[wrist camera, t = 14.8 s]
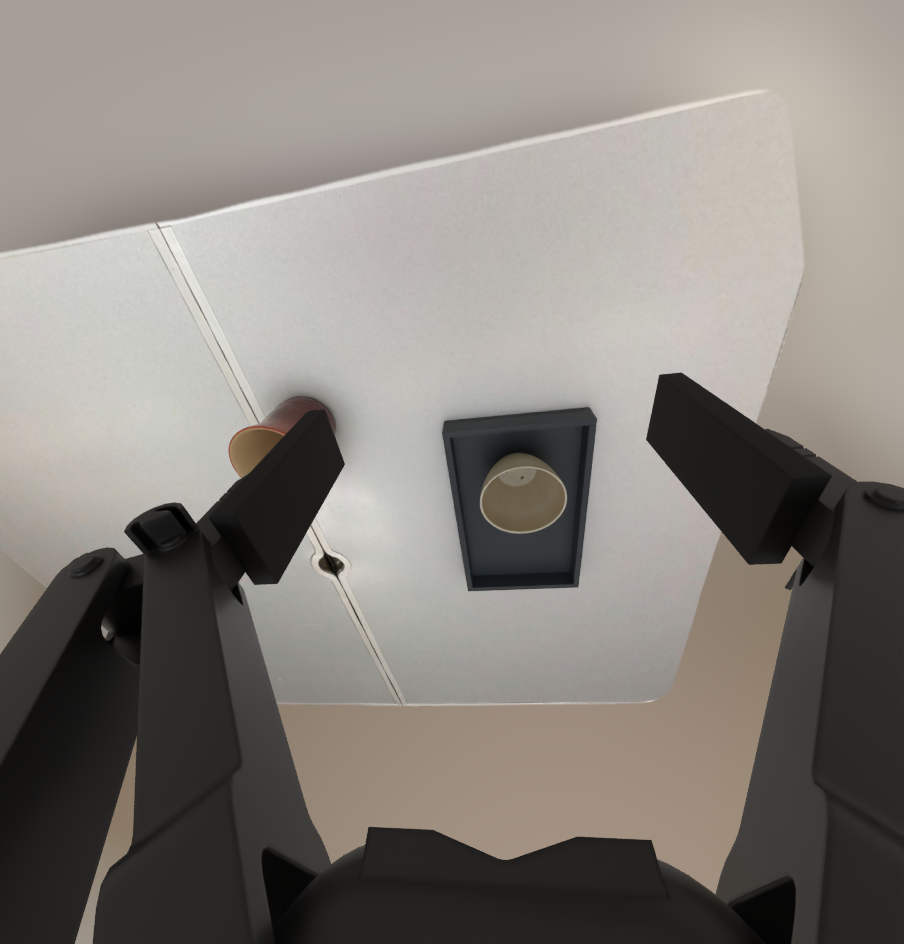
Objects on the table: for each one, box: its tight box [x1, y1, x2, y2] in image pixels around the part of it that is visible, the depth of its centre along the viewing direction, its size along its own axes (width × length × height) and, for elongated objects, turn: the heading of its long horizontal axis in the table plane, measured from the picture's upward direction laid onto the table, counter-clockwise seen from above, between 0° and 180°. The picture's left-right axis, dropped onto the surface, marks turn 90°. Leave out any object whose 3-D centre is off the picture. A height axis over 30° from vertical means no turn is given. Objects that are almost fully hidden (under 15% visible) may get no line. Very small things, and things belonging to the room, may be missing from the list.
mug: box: [229, 397, 335, 478], centre depth 41 cm, size 12×9×10 cm
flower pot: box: [480, 453, 567, 534], centre depth 44 cm, size 10×10×7 cm
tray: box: [442, 408, 597, 591], centre depth 50 cm, size 30×18×3 cm, turn 7°
